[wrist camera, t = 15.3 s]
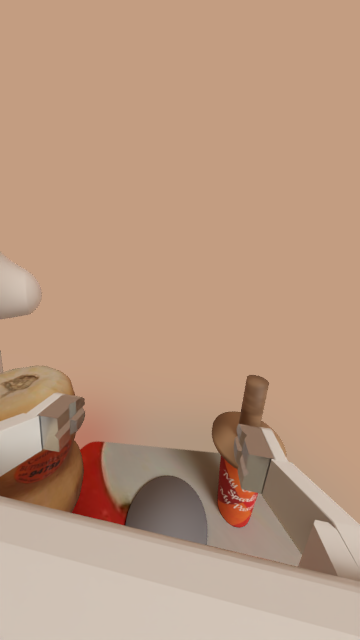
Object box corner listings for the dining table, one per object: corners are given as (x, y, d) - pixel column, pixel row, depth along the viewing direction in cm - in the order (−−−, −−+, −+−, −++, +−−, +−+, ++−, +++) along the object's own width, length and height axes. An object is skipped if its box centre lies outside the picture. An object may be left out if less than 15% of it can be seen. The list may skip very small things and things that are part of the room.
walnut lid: (204, 454, 24) (213, 387, 22) (218, 407, 34) (225, 358, 32) (292, 495, 20) (314, 418, 18) (279, 429, 30) (292, 374, 28)
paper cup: (213, 531, 27) (225, 459, 24) (210, 478, 34) (219, 418, 32) (264, 542, 26) (282, 469, 23) (249, 485, 34) (262, 425, 31)
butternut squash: (-21, 659, 17) (-72, 448, 12) (-54, 551, 23) (-97, 383, 18) (103, 506, 29) (102, 370, 24) (59, 462, 35) (52, 347, 30)
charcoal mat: (105, 541, 25) (105, 539, 25) (158, 464, 36) (158, 463, 36) (183, 632, 19) (183, 630, 19) (217, 505, 30) (217, 503, 30)
